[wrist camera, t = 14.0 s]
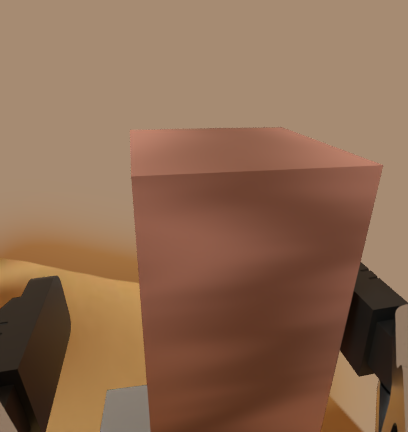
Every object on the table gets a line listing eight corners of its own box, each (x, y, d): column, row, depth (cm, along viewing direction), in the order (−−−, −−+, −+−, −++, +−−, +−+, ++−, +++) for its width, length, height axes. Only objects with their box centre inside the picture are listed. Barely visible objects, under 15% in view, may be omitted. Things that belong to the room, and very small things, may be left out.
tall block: (161, 570, 11) (131, 176, 6) (151, 429, 16) (129, 130, 10) (296, 534, 12) (383, 165, 7) (251, 410, 17) (281, 127, 11)
